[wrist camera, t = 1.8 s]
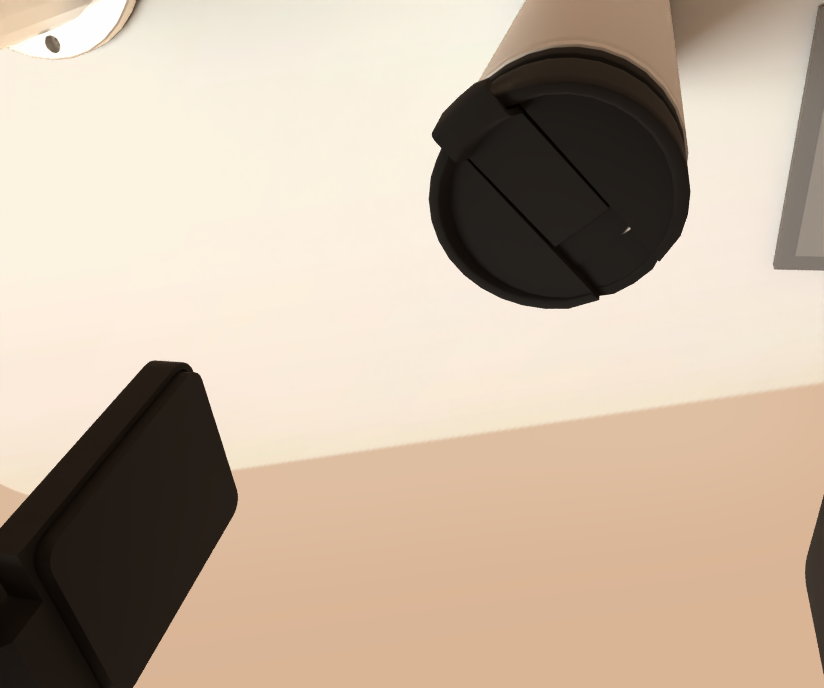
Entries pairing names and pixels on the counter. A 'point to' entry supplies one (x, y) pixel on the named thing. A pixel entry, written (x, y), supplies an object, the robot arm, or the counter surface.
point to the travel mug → (566, 155)
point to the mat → (806, 173)
